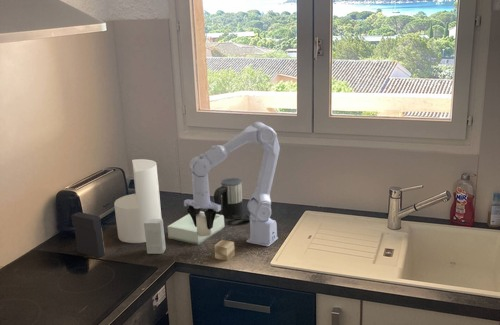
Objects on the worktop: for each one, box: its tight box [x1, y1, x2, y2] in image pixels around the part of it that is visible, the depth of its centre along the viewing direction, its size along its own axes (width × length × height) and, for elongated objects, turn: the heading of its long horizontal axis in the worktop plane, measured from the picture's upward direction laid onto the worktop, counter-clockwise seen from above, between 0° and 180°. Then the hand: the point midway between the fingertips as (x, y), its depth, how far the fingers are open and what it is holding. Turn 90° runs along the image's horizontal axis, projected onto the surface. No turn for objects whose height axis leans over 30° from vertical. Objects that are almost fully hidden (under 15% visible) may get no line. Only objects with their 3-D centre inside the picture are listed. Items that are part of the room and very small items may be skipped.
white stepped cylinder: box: [113, 158, 163, 244], centre depth 208 cm, size 17×17×28 cm
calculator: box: [70, 211, 106, 259], centre depth 194 cm, size 11×4×15 cm, turn 59°
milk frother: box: [213, 177, 250, 222], centre depth 222 cm, size 14×16×15 cm
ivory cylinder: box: [196, 213, 211, 236], centre depth 192 cm, size 5×5×7 cm
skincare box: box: [144, 218, 167, 255], centre depth 194 cm, size 6×4×12 cm
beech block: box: [214, 239, 236, 262], centre depth 189 cm, size 5×5×5 cm
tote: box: [167, 210, 225, 246], centre depth 210 cm, size 14×18×5 cm
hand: (203, 227), depth 192 cm, fingers closed on ivory cylinder, 5 cm apart
